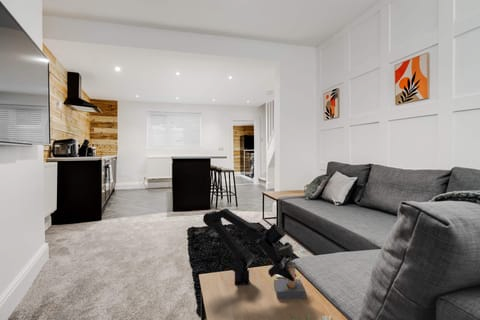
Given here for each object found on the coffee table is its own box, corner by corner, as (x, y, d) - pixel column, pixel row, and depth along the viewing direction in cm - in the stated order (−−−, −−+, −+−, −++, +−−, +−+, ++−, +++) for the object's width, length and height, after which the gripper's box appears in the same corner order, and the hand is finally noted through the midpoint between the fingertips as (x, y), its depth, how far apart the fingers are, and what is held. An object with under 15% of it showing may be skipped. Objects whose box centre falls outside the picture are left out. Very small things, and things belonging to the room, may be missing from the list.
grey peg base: (277, 298, 101) (276, 291, 101) (274, 286, 111) (273, 279, 111) (305, 298, 101) (305, 291, 101) (300, 285, 111) (300, 279, 111)
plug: (288, 295, 103) (287, 265, 103) (286, 291, 106) (286, 261, 107) (297, 295, 103) (296, 265, 103) (295, 290, 106) (294, 261, 106)
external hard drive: (292, 269, 129) (293, 280, 117) (276, 268, 131) (276, 279, 118) (292, 265, 129) (293, 277, 117) (276, 265, 131) (276, 276, 118)
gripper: (274, 245, 98) (302, 277, 93) (287, 232, 115) (312, 259, 110) (257, 261, 102) (283, 293, 97) (272, 246, 118) (295, 273, 113)
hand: (294, 278), depth 104 cm, fingers closed on plug, 3 cm apart
